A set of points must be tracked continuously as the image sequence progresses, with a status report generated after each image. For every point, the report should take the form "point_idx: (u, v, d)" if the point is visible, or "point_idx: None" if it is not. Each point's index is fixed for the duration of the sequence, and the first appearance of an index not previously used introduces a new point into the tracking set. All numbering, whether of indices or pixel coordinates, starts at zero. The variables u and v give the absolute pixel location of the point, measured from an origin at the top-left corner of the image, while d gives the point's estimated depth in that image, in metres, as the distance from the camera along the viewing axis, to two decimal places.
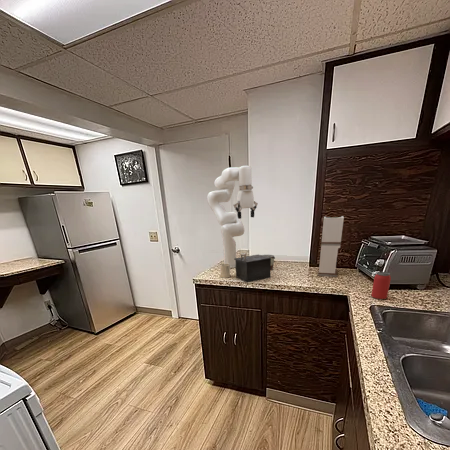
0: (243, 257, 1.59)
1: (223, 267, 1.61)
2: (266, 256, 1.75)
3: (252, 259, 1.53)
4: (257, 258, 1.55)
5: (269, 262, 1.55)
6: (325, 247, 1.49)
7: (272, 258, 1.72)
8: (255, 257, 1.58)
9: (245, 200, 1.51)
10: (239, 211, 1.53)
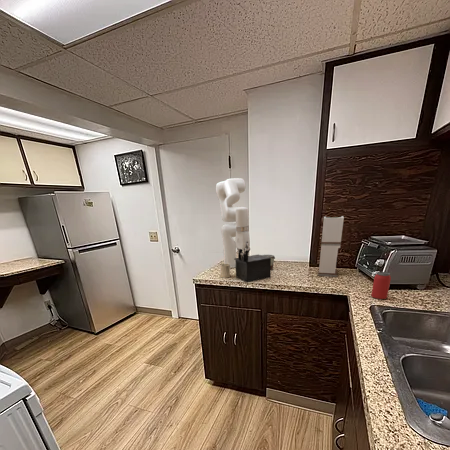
0: None
1: (223, 267, 1.61)
2: (266, 256, 1.75)
3: (252, 259, 1.53)
4: (257, 258, 1.55)
5: (269, 262, 1.55)
6: (325, 247, 1.49)
7: (272, 258, 1.72)
8: (255, 257, 1.58)
9: None
10: None
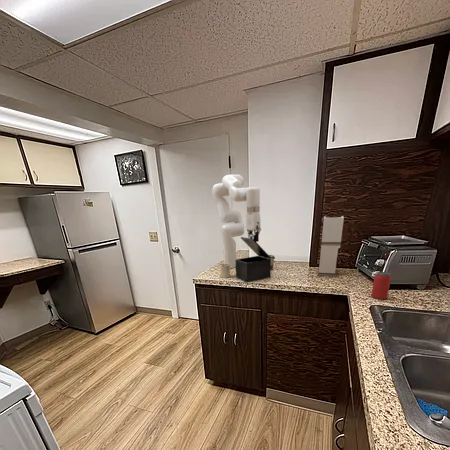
0: None
1: (223, 267, 1.61)
2: None
3: None
4: None
5: (269, 262, 1.55)
6: (325, 247, 1.49)
7: (272, 258, 1.72)
8: None
9: None
10: None
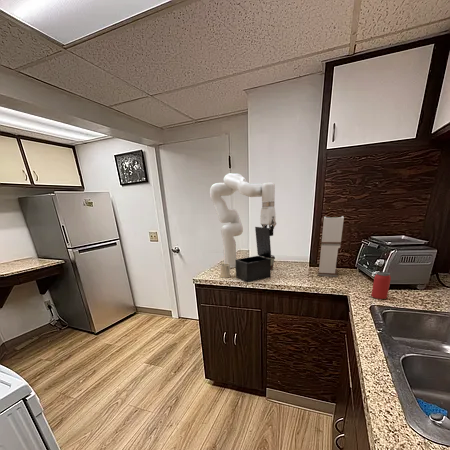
0: None
1: (223, 267, 1.61)
2: None
3: None
4: None
5: (269, 262, 1.55)
6: (325, 247, 1.49)
7: (272, 258, 1.72)
8: None
9: None
10: (273, 228, 1.53)
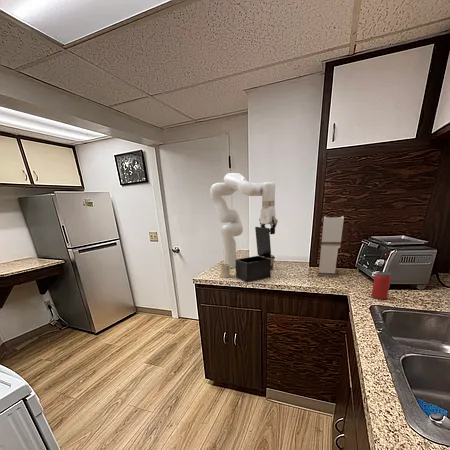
0: None
1: (223, 267, 1.61)
2: None
3: None
4: None
5: (269, 262, 1.55)
6: (325, 247, 1.49)
7: (272, 258, 1.72)
8: None
9: None
10: (274, 226, 1.51)
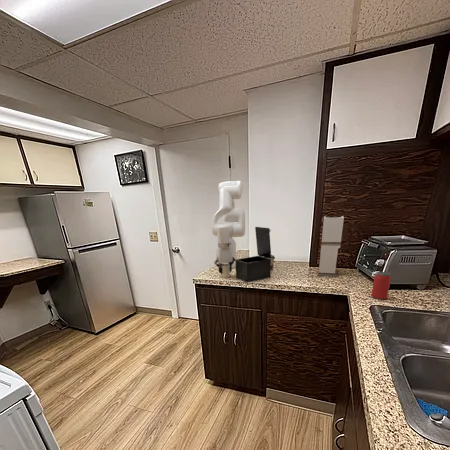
0: None
1: (223, 267, 1.61)
2: None
3: None
4: None
5: (269, 262, 1.55)
6: (325, 247, 1.49)
7: (272, 258, 1.72)
8: None
9: (223, 256, 1.59)
10: (220, 267, 1.61)
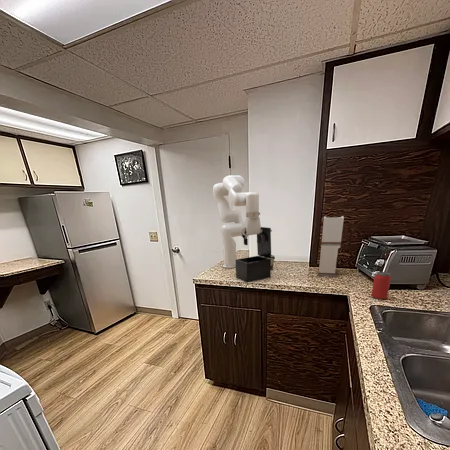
0: None
1: None
2: None
3: None
4: None
5: (269, 262, 1.55)
6: (325, 247, 1.49)
7: (272, 258, 1.72)
8: None
9: (252, 227, 1.47)
10: (245, 238, 1.49)
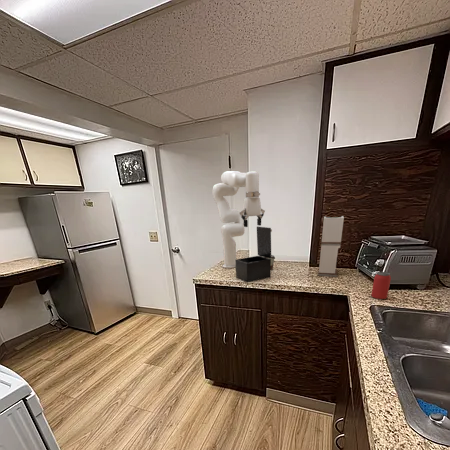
0: None
1: None
2: None
3: None
4: None
5: (269, 262, 1.55)
6: (325, 247, 1.49)
7: (272, 258, 1.72)
8: None
9: (252, 208, 1.43)
10: (245, 219, 1.44)
